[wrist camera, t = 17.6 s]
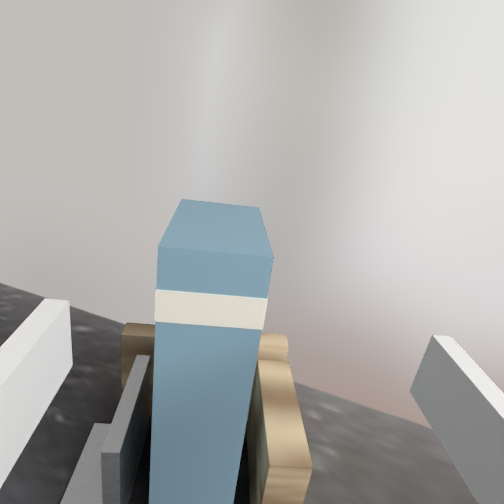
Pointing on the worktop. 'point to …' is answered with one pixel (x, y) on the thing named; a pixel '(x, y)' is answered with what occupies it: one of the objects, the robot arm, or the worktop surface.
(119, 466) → the bookend
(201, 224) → the book
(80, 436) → the worktop surface
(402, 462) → the worktop surface
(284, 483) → the oak shelf
